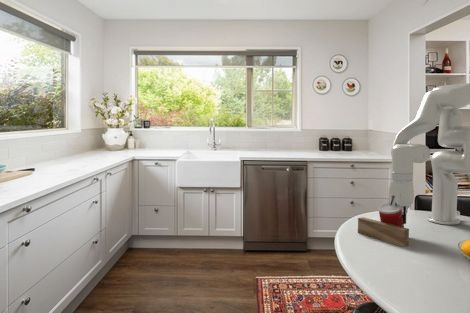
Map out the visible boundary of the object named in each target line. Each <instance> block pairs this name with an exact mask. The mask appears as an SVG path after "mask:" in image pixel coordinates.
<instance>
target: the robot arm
mask: <svg viewBox="0 0 470 313" xmlns="http://www.w3.org/2000/svg"><path fill="white" fill-rule="evenodd" d="M468 105H470V83H458V84H446V85H440V86H436V87H434V88H432V90H429V91H427V92H426V93H425V94H424V96H423V98H422V100H421V102H420V106H419V108H418V109H417V112H416V115H415V117H414V119H413V120H412V121H410V122H409V123H408V124H407V125H406V126H404V127H403V128H402V129H401V130H399V132H398V133H397V135H396V136H395V138H394V141H393V143H392V146H391V151H390V154H391V181H390V184H389V188H388V199H387V204H391V203H393V204H392V206H396V204H397V206H399V205H400V206H401V210H402V216H403V223H404V225H406V224H407V214H408V211H409V208H411V206H412V205H413V204H414V198H415V196H414V195H415V193H414V192H415V190H414V181H413V180H414V179H413V178H414V164H425V163H426V162H427V161H428V160H429V159H430V157H431V159H430V160H431V168H432V169H431V170H432V196H431V197H432V198H431V199H432V201H431V202H432V203H431V215H429V216H427V220H428V221H429V222H432V223H435V224H441V225H447V226H449V225H450V226H452V225H460V224H461V220H460V218H457V216H460V215H461V212H460V210H457V208H458V207H457V206H458V205H457V204H458V186H459V185H458V179H457V178H456V176H455V175H454V174H458V175H459V174H460V175H470V125H464V126H463V125H462V124H463V113H462V111H461V109H462V108H464V107H466V106H468ZM438 122H439V123H438ZM438 124H439V126H438V134H437V143H438V145H439V146H441V147H443V148H450V149H451V148H452V149H463V151H458V150H457V151H456V150H439V151H436V152H434V153H433V154H432V155H431V150H430V148H429V147H428V146H427V145H425V144H422V143H420V144H419V143H410V141H411V140H412V139H414V138H415V137H417V136H419V135H422V134H425V133H428V132H430V131H432V130H434V129H436V127H437V125H438Z"/></svg>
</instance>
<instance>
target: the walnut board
mask: <svg viewBox="0 0 470 313" xmlns="http://www.w3.org/2000/svg"><path fill="white" fill-rule="evenodd" d="M357 233H358V234H361V235H362V236H363V235H364V236H367V237H370V238H374V239H377V240H380V241H383V242H386V243H389V244H393V245H396V246H400V247H404V246H405V247H408V246H409V241H410V240H409V239H410V237H409V236H410V229H409V228H406V227H404V228H403V227H400V226H396V225H392V224H388V223H384V222H381V221H380V220H376V219H372V218H368V217H364V216H363V217H362V216H361V217H358V218H357Z"/></svg>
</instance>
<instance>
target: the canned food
mask: <svg viewBox="0 0 470 313" xmlns="http://www.w3.org/2000/svg"><path fill="white" fill-rule="evenodd" d="M392 204H393V203H391V204H388V203H385V204H381V205H380V206H379V207H378V214H379V218H380V219H379V221H380V222H384V223H388V224H392V225H396V226H400V227H403V228H405V224H404V223H403V216H402V210H401V206H400V205H399V206H397V204H396V206H392Z"/></svg>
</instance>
